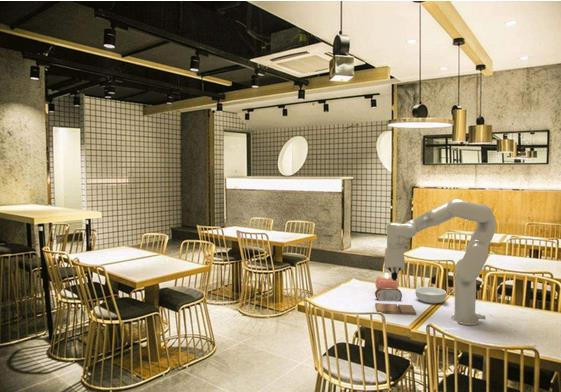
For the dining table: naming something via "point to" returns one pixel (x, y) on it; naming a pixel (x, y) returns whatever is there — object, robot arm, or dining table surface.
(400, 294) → the tin
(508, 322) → the dining table surface
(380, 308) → the panel
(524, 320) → the dining table surface
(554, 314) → the dining table surface
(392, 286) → the vase
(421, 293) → the cereal bowl
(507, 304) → the dining table surface
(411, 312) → the floor board
